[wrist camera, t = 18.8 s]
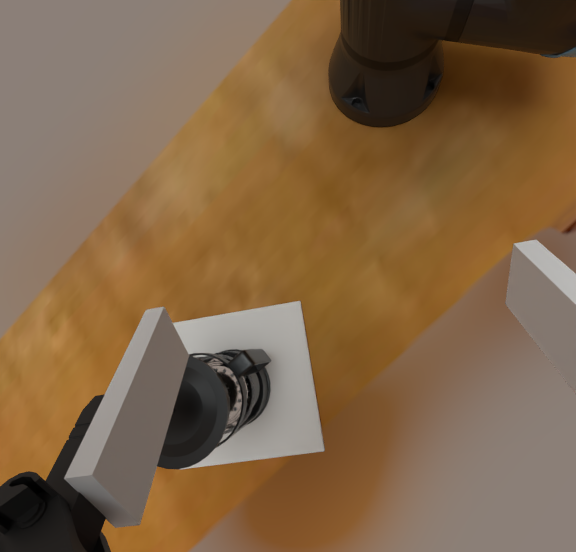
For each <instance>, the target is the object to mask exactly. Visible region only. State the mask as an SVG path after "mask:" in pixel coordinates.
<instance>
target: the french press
mask: <svg viewBox="0 0 576 552" xmlns="http://www.w3.org/2000/svg"><path fill="white" fill-rule="evenodd" d="M196 355H205V356H206V357H193V356H196ZM270 362H271V359H270V357H269V356H268V355H267V354H266V353H265V351H264V350H263V349H249V350H239V349H229V350H225V351H222V352H219V353H215V354H211V353H193V354H189V358H188V361H187V365H186V368H185V371H184V375H183V378H182V382H181V385H180V389H179V392H178V395H177V399H176V402H175V406H174V409H173V413H172V416H171V419H170V423H169V426H168V430H167V433H166V437H165V440H164V443H163V447H162V450H161V454H160V457H159V461H158V464H157V466H158V467H162V468H166V469H182V468H187V467H190V466H192V465H195V464H197V463H199V462H200V461H202V460H203V459H204V458H206V457H207V456H208V455H209V454H210V453H211V452H212V451H213V450H214V449H215V448H216V447H219V446H220V445H221V444H223V443H224V442H226V441H227V440H228V439H229V438H231V437H232V436H233V435H234V434H236V433H237V432H238V431H239V430H240V429H242V428H243V427H244V426H245V425H247V424H250V423H251V422H253V421H254V420H256V419H257V418H258V417H259V416H260V415H261V414H262V413H263V411H264V409H265V408H266V406H267V403H268V401H269V397H270V392H271V386H270V379H269V375H268V372H267V370H266V368H265V366H266V365H268V364H269V363H270ZM254 373H256V375H257V377H258V380H259V385H260V391H259V396H258V399H257V402H256V403H255V405H254V400H255V388H254V383H253V380H252V377H251V375H250V374H254ZM253 405H254V407H253ZM230 432H231V434H230V435H229V436H228V437H227V438H226V439H224V440H223V441H221V442H220V440H221V439H222V437H223V434H227V433H230Z"/></svg>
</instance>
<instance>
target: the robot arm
mask: <svg viewBox="0 0 576 552" xmlns="http://www.w3.org/2000/svg"><path fill="white" fill-rule="evenodd" d="M340 12H341V33H340V35H339V38H338V40H337V43H336V45H335V48H334V50H333V53H332V56H331V59H330V63H329V88H330V93H331V96H332V98H333V100H334V102H335V104H336V105H337V107H338V108H339V109H340V110H341V111H342V112H343V113H344V114H345V115H346V116H347V117H349V118H350V119H352V120H354V121H356V122H358V123H361V124H364V125H368V126H376V127H386V126H393V125H398V124H401V123H404V122H406V121H408V120H411V119H412V118H414V117H416V116H417V115H419V114H420V113H421V112H422V111H424V110H425V109H426V108H427V107H428V105H429V104H430V103H431V102H432V100H433V98H434V97H435V95H436V93H437V90H438V88H439V85H440V82H441V79H442V75H443V70H444V56H443V47H442V40H445V41H452V42H459V43H466V44H473V45H480V46H488V47H495V48H502V49H510V50H516V51H522V52H529V53H535V54H540V55H541V56H545V57H551V58H558V57H561V56H565V57H576V0H340ZM505 304H506V305H507V307H508V308H509V309H510V310H511V312H512V313H513V314H514V316H515V317H516V318H517V319H518V321H519V322H520V323H521V324H522V326H523V327H524V328H525V330H526V331H527V332H528V334H529V335H530V336H531V337H532V339H533V340H534V341H535V343H536V344H537V345H538V346H539V348H540V349H541V350H542V352H543V353H544V354H545V355H546V357H547V358H548V359H549V360H550V362H551V363H552V364H553V366H554V367H555V368H556V369H557V371H558V372H559V373H560V375H561V376H562V377H563V379H564V380H565V381H566V382H567V384H568V385H569V386H570V388H571V389H572V390H573V391H574V393H575V394H576V274H575V273H574V272H573V271H572V270H571V269H569V268H568V267H567V266H566V265H565V264H564V263H563V262H561V261H560V260H559V259H558V258H557V257H555V255H553V254H552V253H551V252H550V251H549V250H548V249H546V248H545V247H544V246H543V245H542V244H541V243H540V242H538V241H537V240H531V241H526V242H520V243H515V244H513V251H512V258H511V266H510V273H509V280H508V288H507V295H506V302H505ZM188 358H189V354H188V352H187V350H186V348H185V346H184V344H183V342H182V340H181V338H180V336H179V334H178V332H177V331H176V329H175V327H174V325H173V323H172V321H171V319H170V317H169V315H168V313H167V311H166V309H165V307H159V308H154V309H148V310H146V311H145V313H144V315H143V317H142V319H141V321H140V323H139V325H138V327H137V329H136V331H135V334H134V336H133V338H132V340H131V342H130V344H129V346H128V348H127V350H126V352H125V354H124V356H123V358H122V360H121V362H120V364H119V366H118V368H117V371H116V373H115V375H114V377H113V379H112V381H111V383H110V385H109V387H108V389H107V391H106V393H105V395H99V396H95V397H94V398H93V399H92V400H91V401H90V403H89V404H88V405H87V406H86V407H85V408H84V409H83V411H82V412H81V414H80V416H79V418H78V420H77V422H76V424H75V428H73V430H72V432H71V433H70V435H69V440H67V441H66V443H65V445H64V447H63V449H62V451H61V453H60V454H59V456H58V458H57V460H56V462H55V464H54V466H53V468H52V470H51V472H50V473H49V475H48V477H47V479H46V481H45V480H43V479H42V478H41V477H40V476H39V475H38V474H37V473H34V472H30V471H29V472H24V473H20V474H18V475H16V476H14V477H13V478H11V479H9V480H8V481H6V482H5V483H4V484H3V485H2V486H0V552H111V551H110V548H109V546H108V543H107V540H106V537H105V536H104V535H103V533H102V532H101V529H102V527H103V524H104V521H105V518H106V519H107V520H108V521H109V522H110V523H111V524H112V525H113V526H114V527H115V528H116V527H125V526H134V525H140V522H141V519H142V516H143V512H144V509H145V505H146V502H147V498H148V495H149V492H150V488H151V485H152V481H153V478H154V474H155V471H156V468H157V464H158V461H159V457H160V454H161V450H162V447H163V443H164V440H165V437H166V433H167V430H168V426H169V423H170V419H171V416H172V413H173V409H174V406H175V402H176V399H177V395H178V392H179V389H180V385H181V382H182V378H183V375H184V371H185V368H186V365H187V361H188Z"/></svg>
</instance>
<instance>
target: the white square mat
mask: <svg viewBox="0 0 576 552" xmlns="http://www.w3.org/2000/svg"><path fill="white" fill-rule="evenodd" d="M173 325H174V327H175V329H176V331H177V332H178V334H179V336H180V338H181V340H182V342H183V344H184V346H185V348H186V350H187V352H188V354H193V353H211V354H215V353H219V352H222V351H225V350H229V349H239V350H249V349H263V350H264V351H265V353H266V354H267V355H268V356H269V357H270V359H271V362H270V363H269V364H268V365H266V366H265V368H266V370H267V372H268V375H269V379H270V386H271V392H270V397H269V401H268V403H267V406H266V408H265V409H264V411H263V413H262V414H261V415H260V416H259V417H258V418H257V419H256V420H254V421H253V422H251V423H250V424H247V425H245V426H244V427H243V428H242V429H240V430H239V431H238V432H237V433H236V434H234V435H233V436H232V437H231V438H229V439H228V440H227V441H226V442H224V443H223V444H221V445H220V446H219V447H216V448H215V449H214V450H213V451H212V452H211V453H210V454H209V455H208V456H207V457H206V458H204V459H203V460H202V461H200V462H199V463H197V464H195V465H192V466H190V467H187V468H182V469H188V468H195V467H203V466H211V465H219V464H227V463H235V462H243V461H251V460H259V459H267V458H275V457H283V456H291V455H299V454H306V453H314V452H322V451H324V450H325V447H324V441H323V435H322V429H321V423H320V417H319V411H318V404H317V398H316V392H315V386H314V380H313V374H312V368H311V361H310V355H309V349H308V343H307V337H306V331H305V325H304V319H303V312H302V306H301V301H296V302H290V303H285V304H279V305H273V306H267V307H262V308H256V309H250V310H244V311H239V312H233V313H227V314H222V315H216V316H210V317H204V318H199V319H193V320H187V321H181V322H176V323H173ZM193 357H206V356H205V355H196V356H193ZM250 375H251V377H252V380H253V383H254V388H255V400H254V405H255V403H256V402H257V399H258V396H259V391H260V385H259V380H258V377H257V375H256V373H254V374H250ZM254 405H253V407H254ZM230 434H231V432H230V433H227V434H223V437H222V439H221V440H220V442H221V441H223V440H224V439H226V438H227V437H228V436H229V435H230Z"/></svg>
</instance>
